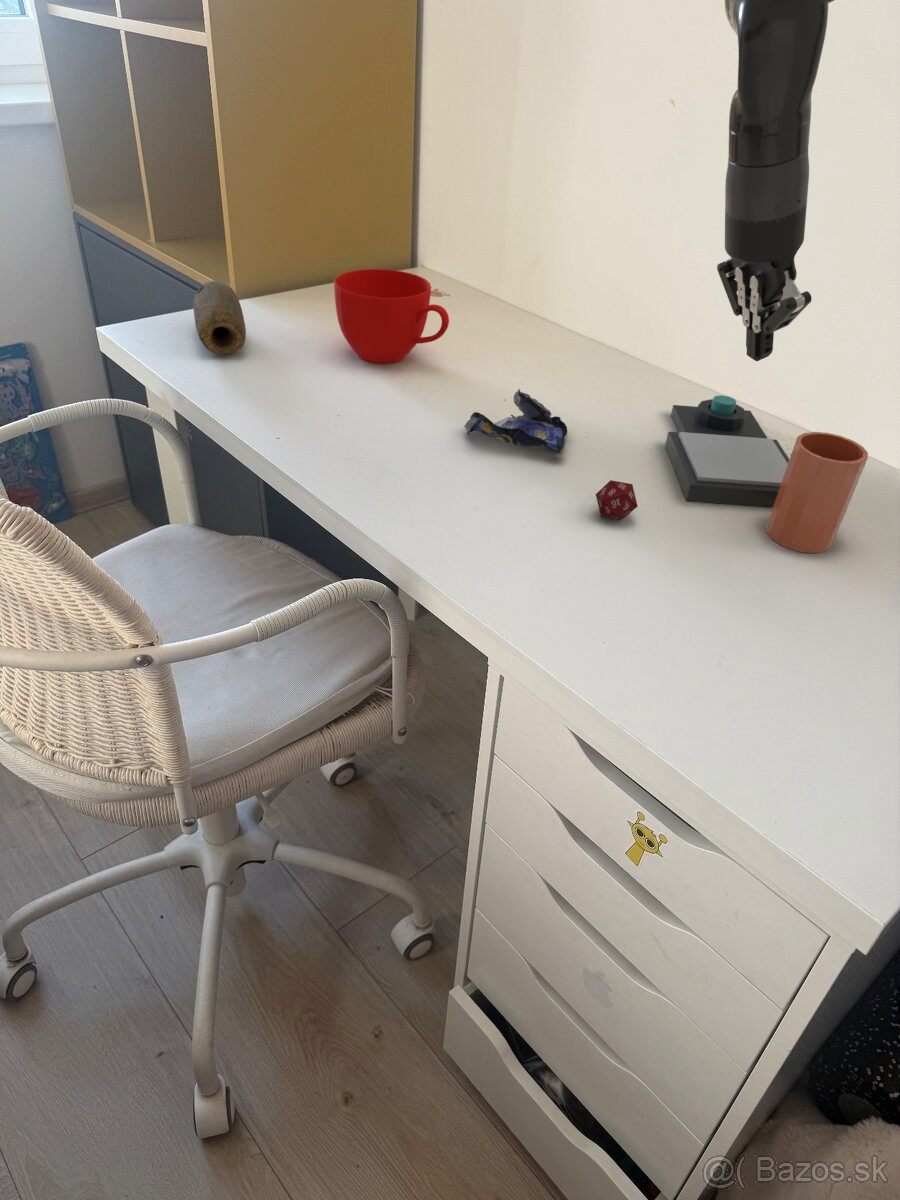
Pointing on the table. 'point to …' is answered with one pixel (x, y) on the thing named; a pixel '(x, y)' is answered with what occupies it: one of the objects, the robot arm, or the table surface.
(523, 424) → the snack package
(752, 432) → the pad
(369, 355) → the ceramic cup
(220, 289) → the stone weight
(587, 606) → the table surface
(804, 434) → the cup
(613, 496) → the dice
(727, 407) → the button
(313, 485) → the table surface
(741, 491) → the scale
